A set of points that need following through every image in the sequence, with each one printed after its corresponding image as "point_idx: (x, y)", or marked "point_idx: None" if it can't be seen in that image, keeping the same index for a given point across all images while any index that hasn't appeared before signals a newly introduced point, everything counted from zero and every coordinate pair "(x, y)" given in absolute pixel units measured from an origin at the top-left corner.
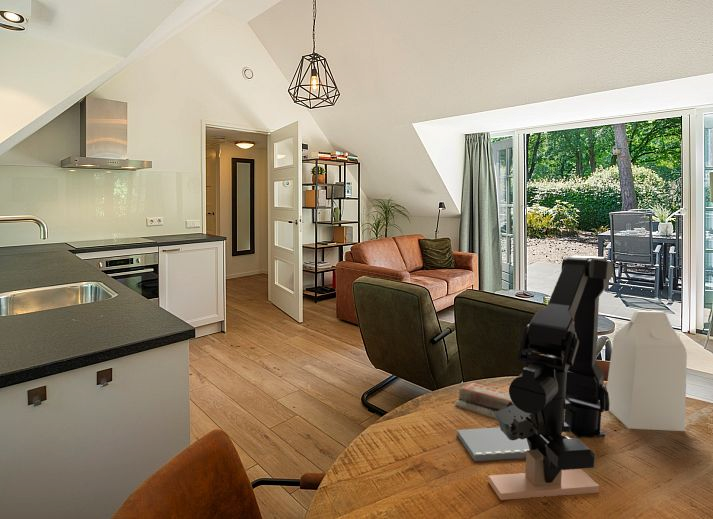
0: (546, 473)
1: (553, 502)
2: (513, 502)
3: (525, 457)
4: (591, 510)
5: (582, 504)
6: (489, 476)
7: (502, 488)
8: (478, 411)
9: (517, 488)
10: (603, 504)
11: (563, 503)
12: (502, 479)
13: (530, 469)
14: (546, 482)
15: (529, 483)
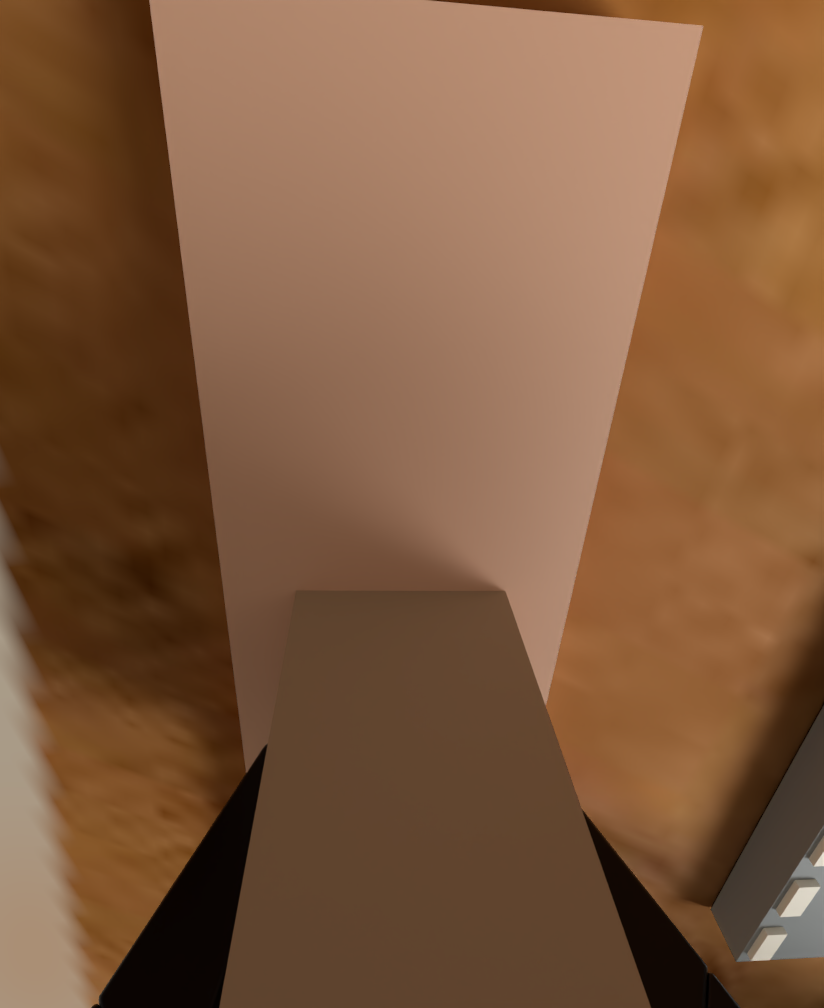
0: (179, 882)
1: (162, 645)
2: (141, 214)
3: (820, 717)
4: (76, 830)
5: (145, 812)
6: (670, 26)
7: (297, 107)
8: None
9: (281, 376)
10: (153, 904)
11: (151, 709)
12: (527, 252)
13: (403, 725)
14: (264, 746)
15: (365, 573)
